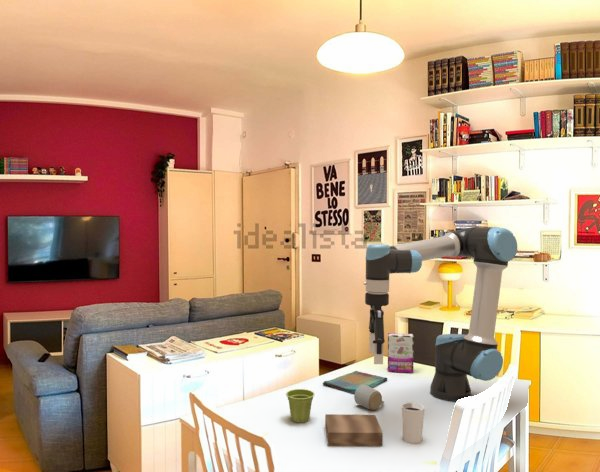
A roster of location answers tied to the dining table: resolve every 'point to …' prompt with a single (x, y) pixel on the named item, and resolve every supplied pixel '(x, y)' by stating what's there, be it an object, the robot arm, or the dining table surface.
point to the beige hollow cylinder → (412, 422)
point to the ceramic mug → (368, 397)
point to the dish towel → (354, 381)
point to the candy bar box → (400, 352)
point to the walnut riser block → (353, 430)
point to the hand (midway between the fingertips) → (375, 358)
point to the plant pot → (300, 404)
